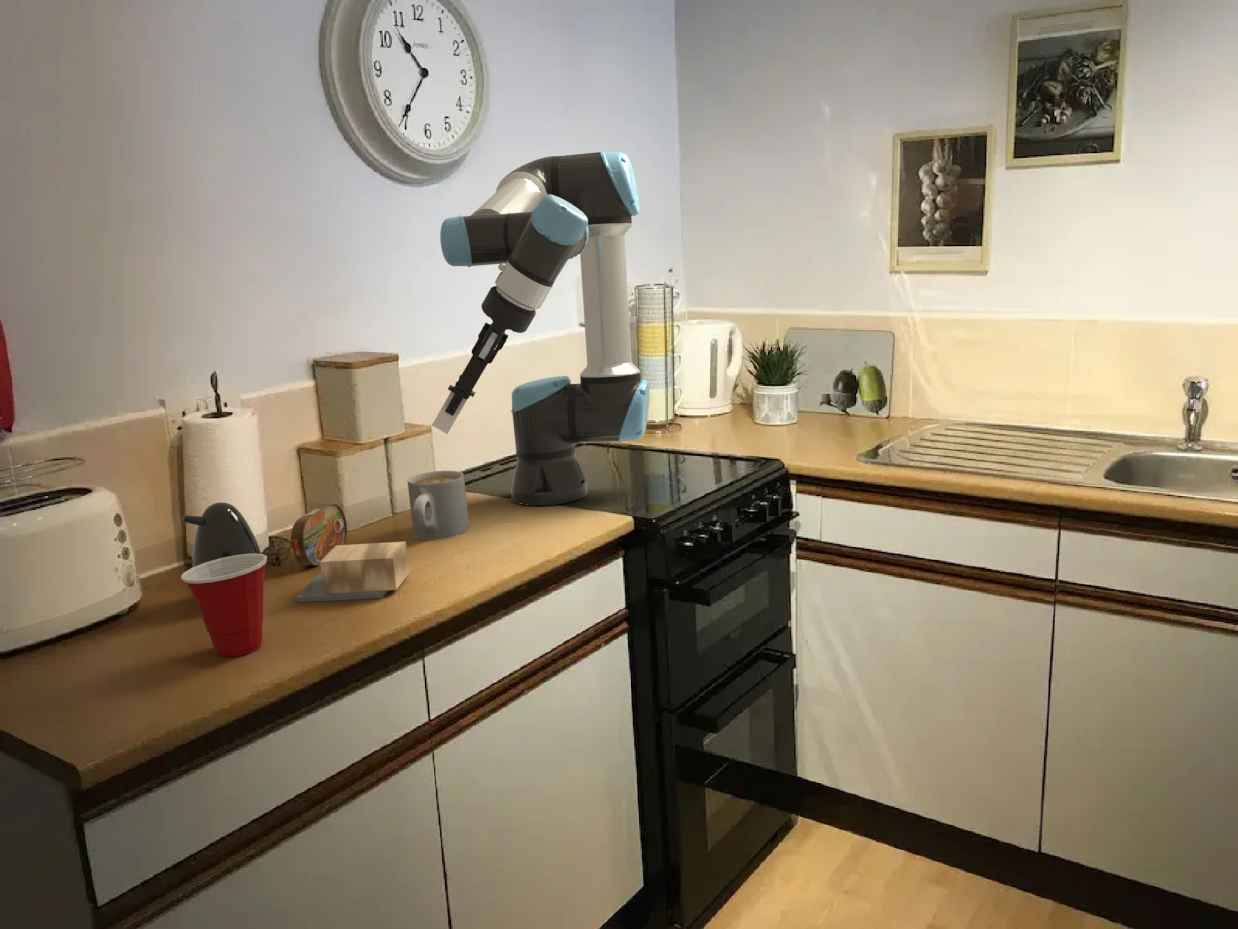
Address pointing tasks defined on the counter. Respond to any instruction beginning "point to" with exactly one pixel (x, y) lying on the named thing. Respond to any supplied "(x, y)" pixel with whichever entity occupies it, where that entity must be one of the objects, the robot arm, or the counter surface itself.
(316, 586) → the plate
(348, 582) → the oak block
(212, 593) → the plastic cup
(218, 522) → the pump dispenser
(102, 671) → the counter surface
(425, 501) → the coffee mug
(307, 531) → the tin
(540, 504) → the robot arm
